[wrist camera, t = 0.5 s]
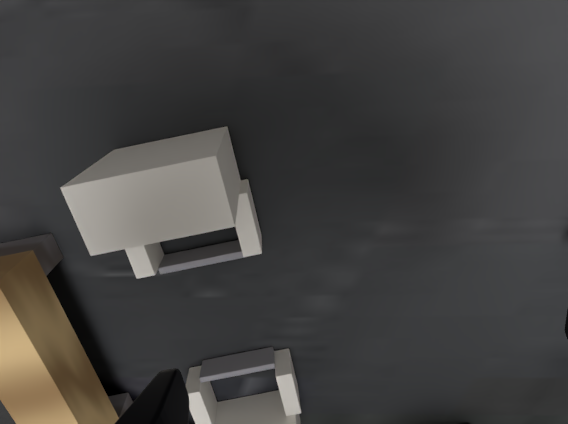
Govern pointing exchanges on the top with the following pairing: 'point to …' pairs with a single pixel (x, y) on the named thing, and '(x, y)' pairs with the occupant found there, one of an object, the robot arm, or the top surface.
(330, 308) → the top surface
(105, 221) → the stepped white cradle
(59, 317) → the rail
